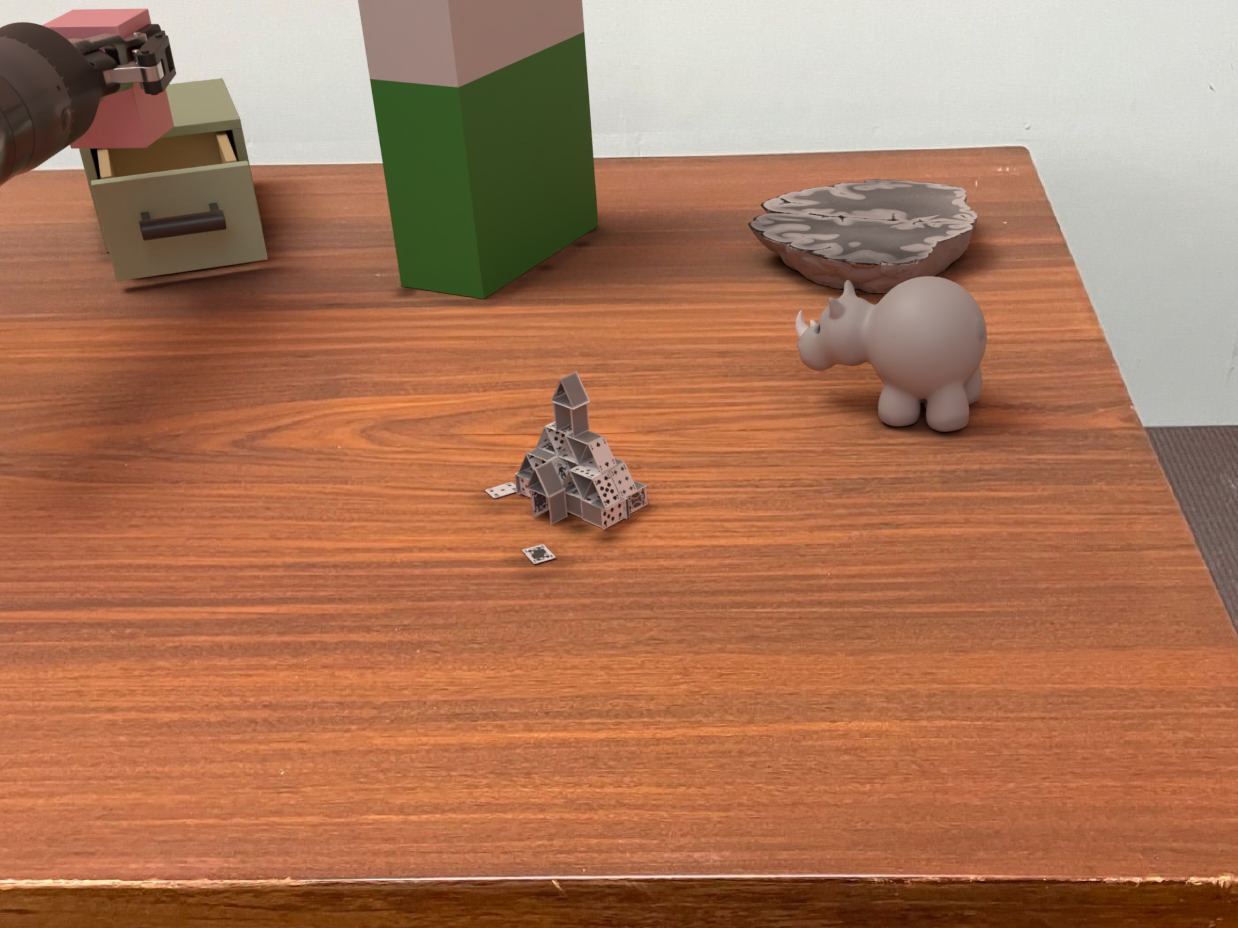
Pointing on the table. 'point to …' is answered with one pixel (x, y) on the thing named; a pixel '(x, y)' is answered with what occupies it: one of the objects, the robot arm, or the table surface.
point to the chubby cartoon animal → (906, 348)
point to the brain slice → (868, 231)
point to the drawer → (177, 206)
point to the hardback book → (481, 135)
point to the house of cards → (574, 470)
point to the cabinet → (189, 123)
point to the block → (129, 111)
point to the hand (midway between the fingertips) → (115, 40)
